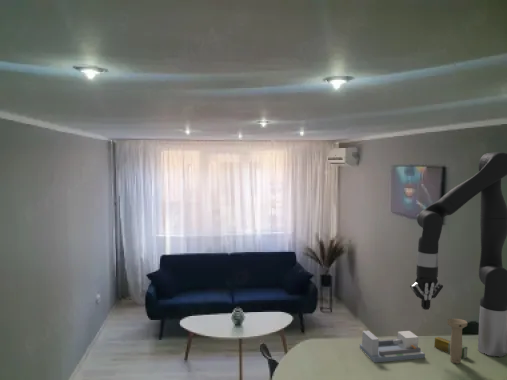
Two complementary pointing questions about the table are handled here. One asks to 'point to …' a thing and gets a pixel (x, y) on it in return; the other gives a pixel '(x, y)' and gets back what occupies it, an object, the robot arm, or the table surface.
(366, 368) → the table surface
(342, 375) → the table surface
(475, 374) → the table surface
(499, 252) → the robot arm
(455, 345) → the handle
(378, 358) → the gauge bed
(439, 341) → the medication box
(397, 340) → the plunger
